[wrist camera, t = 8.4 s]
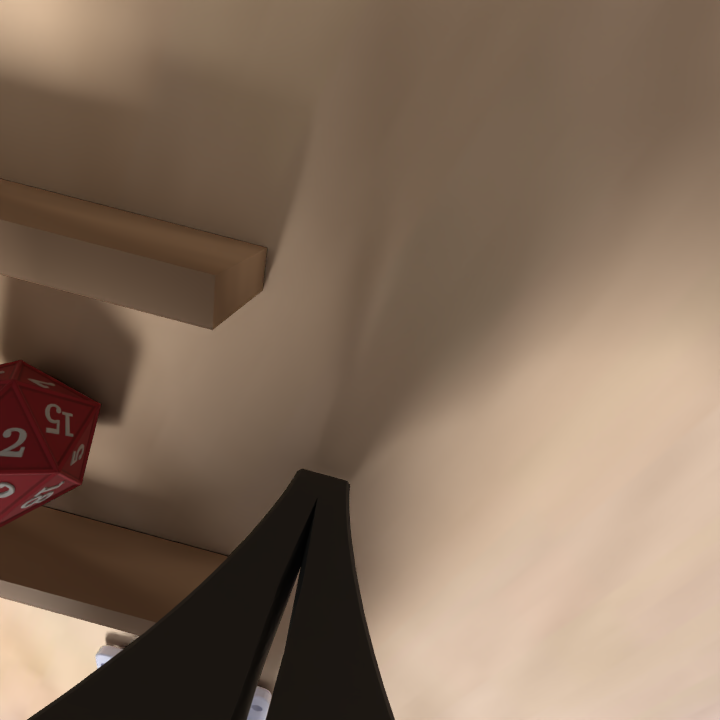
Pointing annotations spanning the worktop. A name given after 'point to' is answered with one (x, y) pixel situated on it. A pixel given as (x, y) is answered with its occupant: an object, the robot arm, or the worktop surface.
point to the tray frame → (143, 293)
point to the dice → (40, 438)
